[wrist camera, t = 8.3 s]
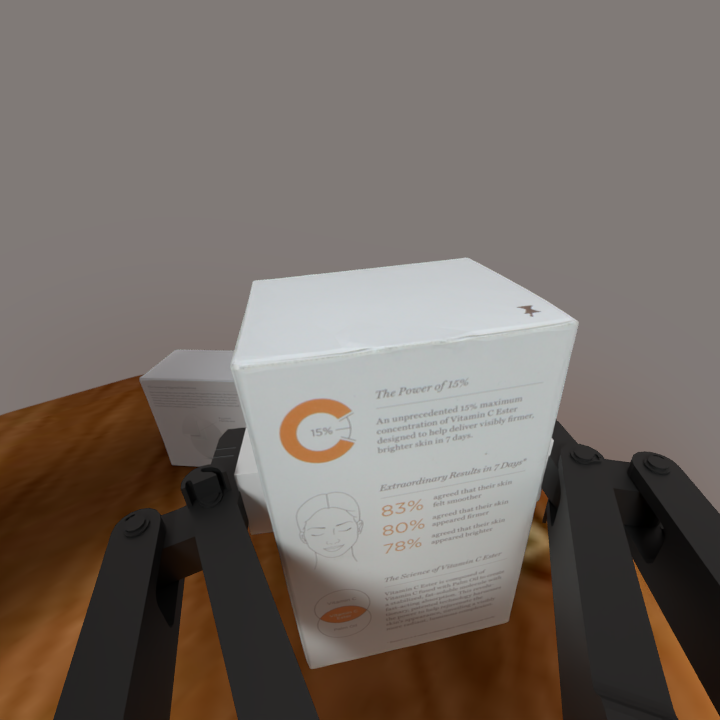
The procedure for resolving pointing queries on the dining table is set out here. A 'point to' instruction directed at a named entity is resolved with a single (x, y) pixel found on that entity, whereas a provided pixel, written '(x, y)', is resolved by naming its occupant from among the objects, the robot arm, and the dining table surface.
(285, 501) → the small box
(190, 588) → the dining table surface
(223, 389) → the skincare box
